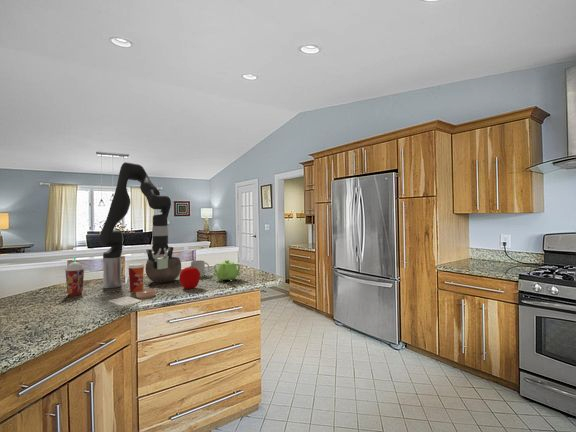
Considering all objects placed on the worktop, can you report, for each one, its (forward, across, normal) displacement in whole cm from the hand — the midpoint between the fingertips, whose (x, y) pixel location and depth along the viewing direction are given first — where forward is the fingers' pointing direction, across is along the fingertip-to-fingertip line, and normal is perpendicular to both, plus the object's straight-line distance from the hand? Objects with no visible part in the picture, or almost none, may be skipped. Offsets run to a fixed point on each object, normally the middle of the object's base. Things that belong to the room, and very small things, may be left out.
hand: (160, 267), depth 159 cm
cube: (0, 0, 0) cm, 0 cm away
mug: (+15, -46, -28) cm, 56 cm away
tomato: (+15, -20, -3) cm, 26 cm away
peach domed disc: (+15, +4, -6) cm, 17 cm away
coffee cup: (+15, +1, -22) cm, 27 cm away
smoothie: (+16, +23, -42) cm, 51 cm away
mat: (+15, +10, -6) cm, 19 cm away
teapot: (+15, -47, -2) cm, 50 cm away
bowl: (+15, -22, -32) cm, 42 cm away
